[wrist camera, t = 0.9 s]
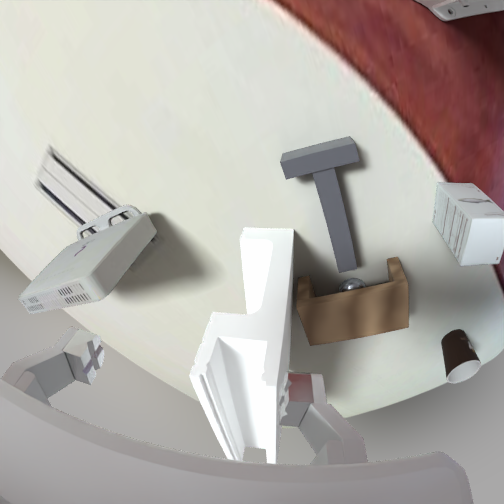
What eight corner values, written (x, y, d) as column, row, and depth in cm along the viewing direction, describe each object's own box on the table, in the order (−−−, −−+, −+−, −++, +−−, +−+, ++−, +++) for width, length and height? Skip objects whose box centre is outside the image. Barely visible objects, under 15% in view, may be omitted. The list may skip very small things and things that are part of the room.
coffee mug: (435, 334, 55) (446, 370, 47) (468, 320, 51) (481, 354, 43) (439, 360, 60) (447, 392, 51) (468, 348, 56) (479, 379, 48)
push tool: (349, 136, 37) (355, 143, 34) (374, 250, 47) (379, 266, 43) (282, 153, 41) (280, 162, 37) (317, 262, 50) (317, 279, 46)
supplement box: (472, 181, 36) (513, 218, 26) (466, 222, 40) (499, 266, 30) (435, 180, 38) (472, 217, 27) (430, 222, 42) (460, 268, 31)
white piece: (289, 361, 66) (275, 473, 43) (255, 358, 67) (232, 468, 44) (293, 229, 47) (276, 386, 24) (243, 227, 48) (189, 375, 25)
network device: (148, 194, 48) (79, 262, 31) (171, 236, 52) (117, 315, 35) (66, 233, 56) (9, 289, 40) (86, 264, 60) (36, 325, 44)
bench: (397, 256, 46) (408, 284, 40) (400, 298, 51) (408, 327, 45) (298, 277, 52) (296, 307, 46) (311, 316, 57) (310, 345, 51)
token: (363, 275, 50) (365, 282, 48) (366, 295, 52) (368, 302, 50) (336, 280, 51) (337, 287, 50) (341, 300, 54) (342, 307, 52)
